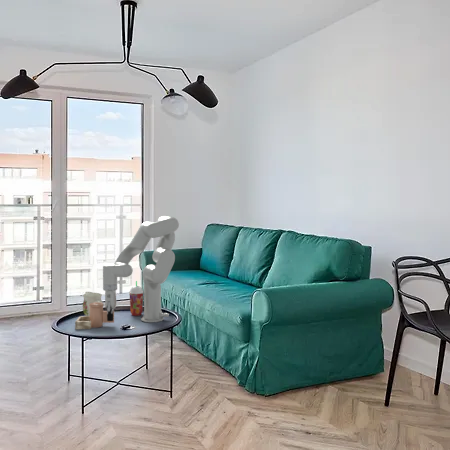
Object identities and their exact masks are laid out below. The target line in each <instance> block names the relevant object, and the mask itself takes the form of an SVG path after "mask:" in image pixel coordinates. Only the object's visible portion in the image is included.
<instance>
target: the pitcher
mask: <svg viewBox="0 0 450 450" xmlns="http://www.w3.org/2000/svg"><path fill="white" fill-rule="evenodd" d="M82 297H83V302H82V312H83V313H84V316H90V306H89V304H90V303H95V302H99V303H103V301H102V294H101V293H99V292H92V291H85V292H84V294H83V295H82Z"/></svg>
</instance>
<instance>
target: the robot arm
mask: <svg viewBox="0 0 450 450" xmlns="http://www.w3.org/2000/svg"><path fill="white" fill-rule="evenodd" d="M179 225H180V223H179V220H178V219H177V218H176V217H173V216H167V215H162V216H159V217H158V219H157V221H155V222H154V221H153V222H152V221H145V222H144V221H143V223H142V224H141V225H140V226H139V228H138V230H137V231H136V233H135V234H134V236H133V238H132V239H131V241H130V243H129V244H128V245H127V246H126V247H125V248H124V249H123V250H122V251H121V252H120V253H119V255H118V256H117V258H116V260H115V261H114V263H106V264H104V265H103V266H102V290H103V291H104V307H105V310H106V309H107V310H106V311H107V321H113V311H114V312H115V310H114V309H116V307H117V290H118V278H129V277H130V276H131V275H132V274H133V267H132V266H131V265H130V262H131V261H132V260H133V259H134V257H136V256H137V255H140V254H141V253H144V251H145V249H146V248H147V246H148V244H149V242H150V241H151V239H155V238H159V240H158V242H157V244H156V246H155V249H154V251H153V253H152V255H151V256H152V261H153V262H154V263H156V264H148V265H146V266H145V267H144V268H143V270H142V280H143V291H144V292H143V316H142V317H141V318H140V320H141V321H142V322H144V323H159V322H162V321H163V320H165V319H164V317H165V318H168V317H170V316H169V315H170V313H167V312H163V311H162V288H161V287H162V284H163V283H164V282H166V280H167V279H168V277H169V275H170V274H171V273H170V272H171V270H172V268H173V266H174V264H175V260H176V255H175V253H174V251H173V247H174V244H175V241H176V234H175V232H176V231H177V230H178V229H179Z"/></svg>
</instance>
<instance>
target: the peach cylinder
mask: <svg viewBox="0 0 450 450" xmlns="http://www.w3.org/2000/svg"><path fill="white" fill-rule="evenodd" d="M89 306H90V321H91V328H96V329H97V328H101V327H103V326H104V324H105V323H106V324H108V323H110V324H111V323H113V324H114V323H115V310H114V311H113V321H107V310H104V307H105V303H103V302H102V303H99V302H95V303H90V304H89Z"/></svg>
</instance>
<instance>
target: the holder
mask: <svg viewBox="0 0 450 450" xmlns="http://www.w3.org/2000/svg"><path fill="white" fill-rule="evenodd" d="M74 324H75V325H74V328H75V329H74V330H91V329H92V327H91V321H90V316H85V315H83V316H82V315H81V316H78V317H77V319H75V321H74Z"/></svg>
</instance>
